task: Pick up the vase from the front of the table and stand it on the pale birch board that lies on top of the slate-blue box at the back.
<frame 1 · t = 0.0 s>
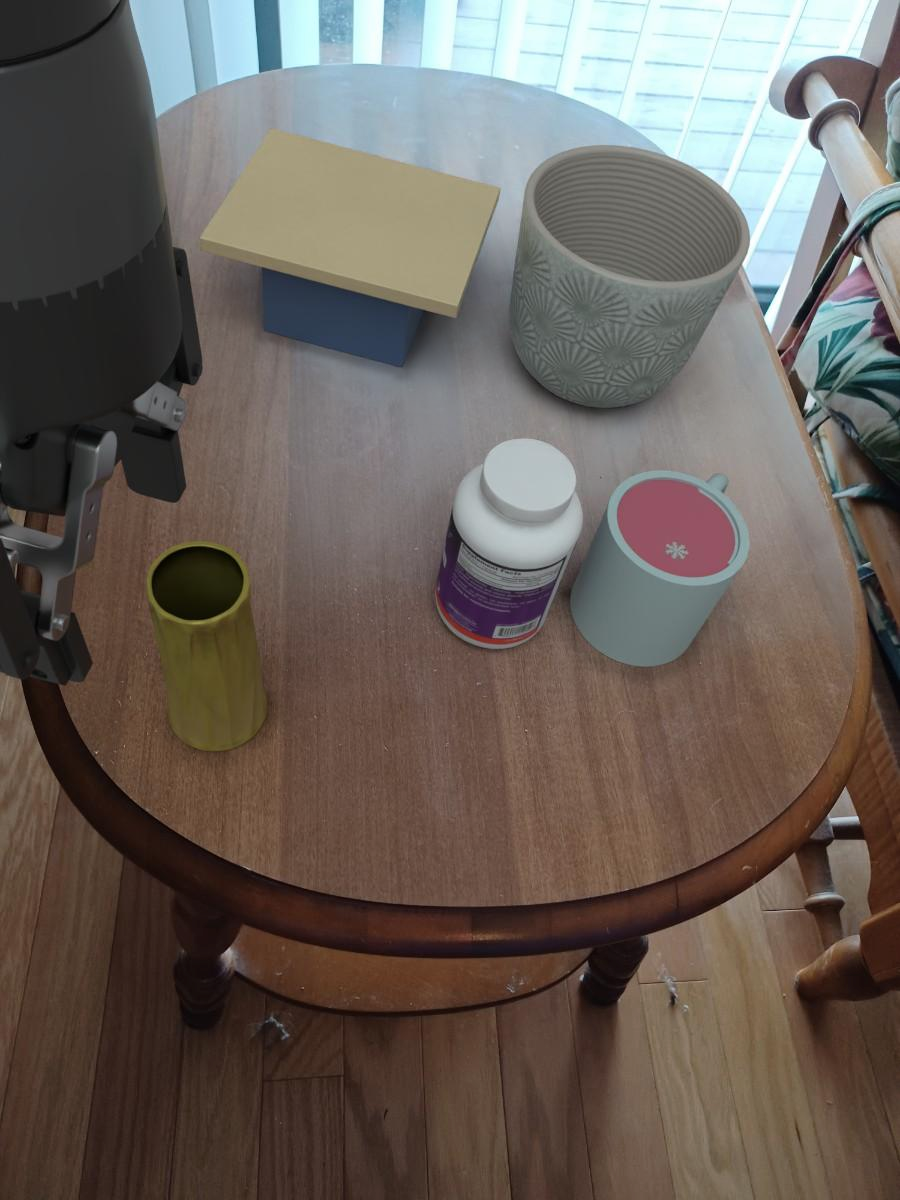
hand: (112, 575, 36), 24 cm above the table, tool pointing down, fingers open, 8 cm apart
planter: (586, 368, 82), on the table
box: (353, 304, 83), on the table
mug: (647, 593, 70), on the table
vase: (218, 709, 60), on the table
pill bottle: (489, 608, 67), on the table
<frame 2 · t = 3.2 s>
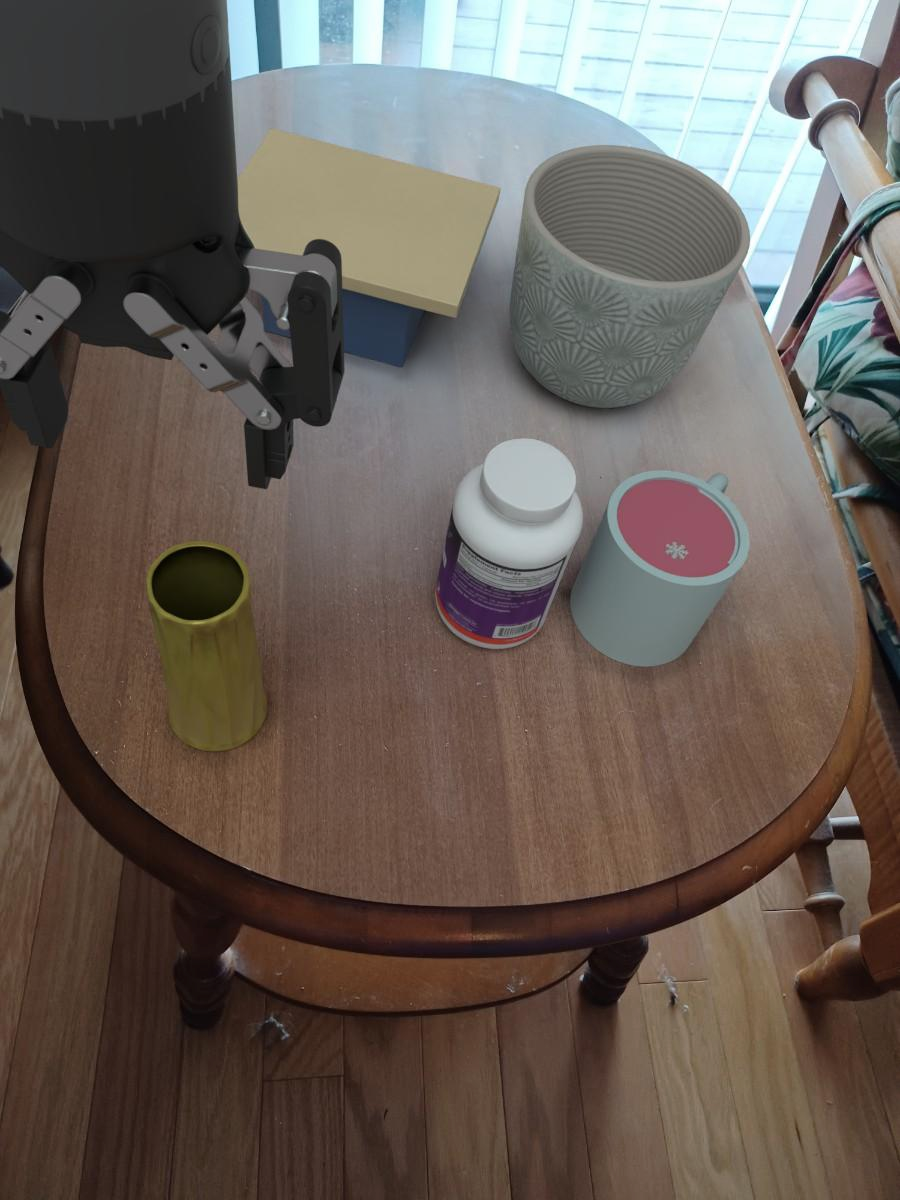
hand: (157, 452, 38), 26 cm above the table, tool pointing down, fingers open, 8 cm apart
nothing on the table moved.
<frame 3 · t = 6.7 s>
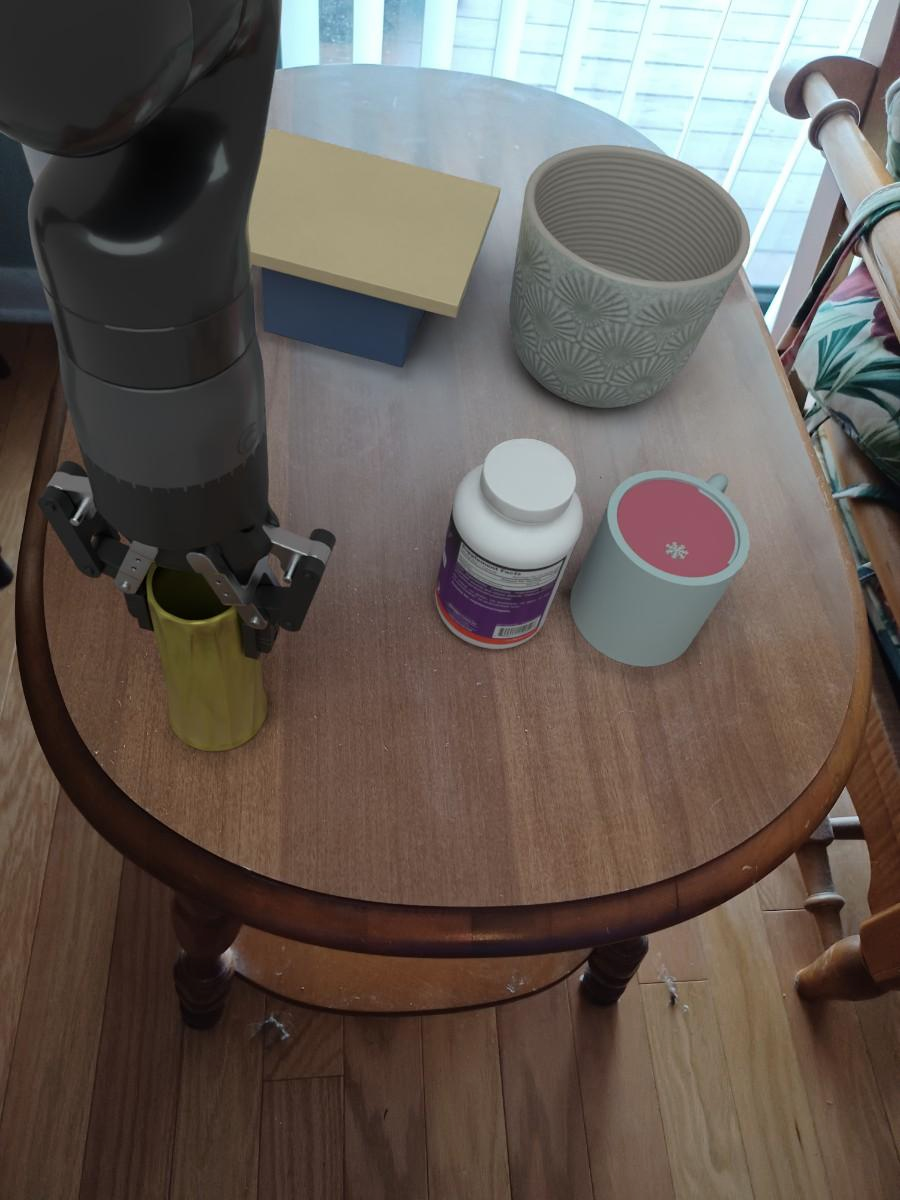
hand: (205, 630, 52), 9 cm above the table, tool pointing down, fingers closed on vase, 5 cm apart
vase: (218, 709, 60), on the table, touching gripper
everything else where it was.
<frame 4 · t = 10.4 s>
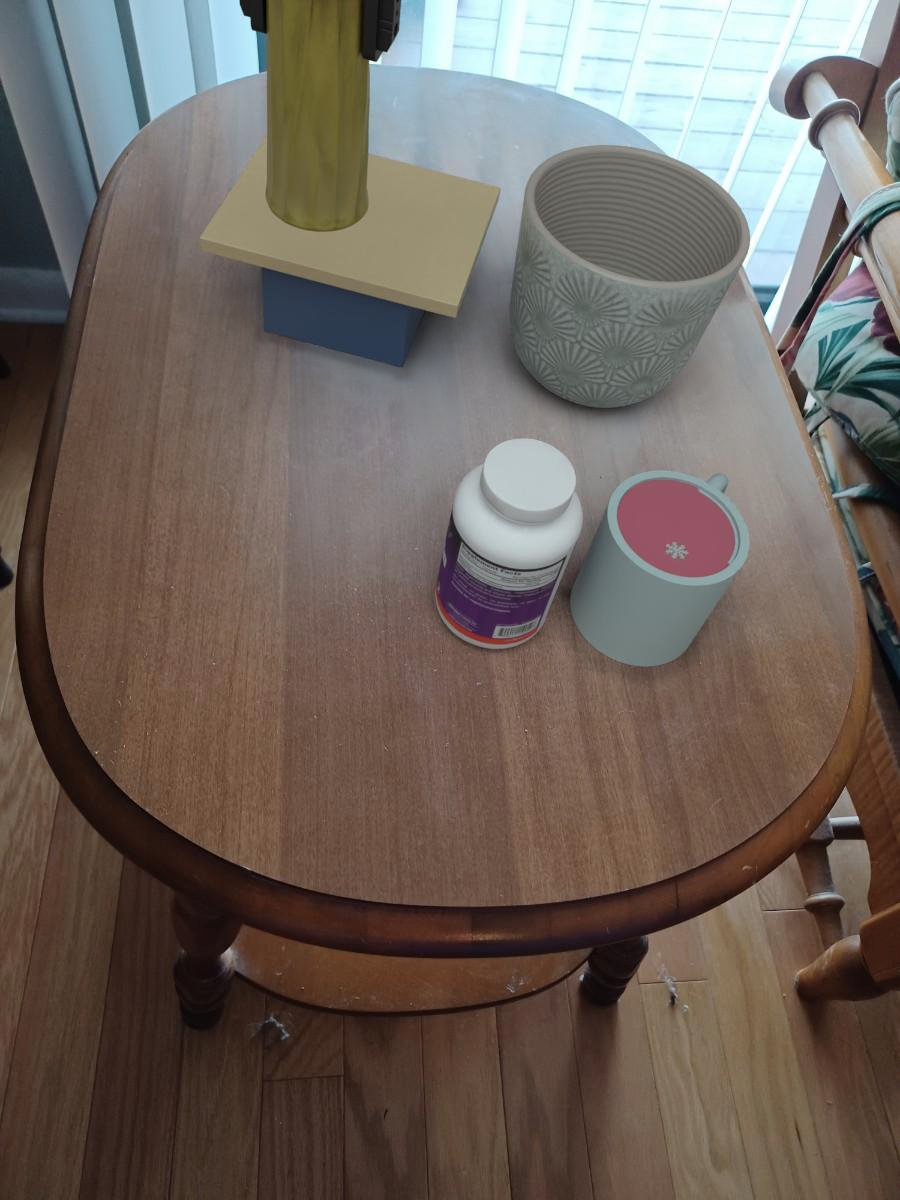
hand: (319, 38, 49), 30 cm above the table, tool pointing down, fingers closed on vase, 5 cm apart
vase: (317, 205, 57), point 20 cm above the table, touching gripper
everything else where it was.
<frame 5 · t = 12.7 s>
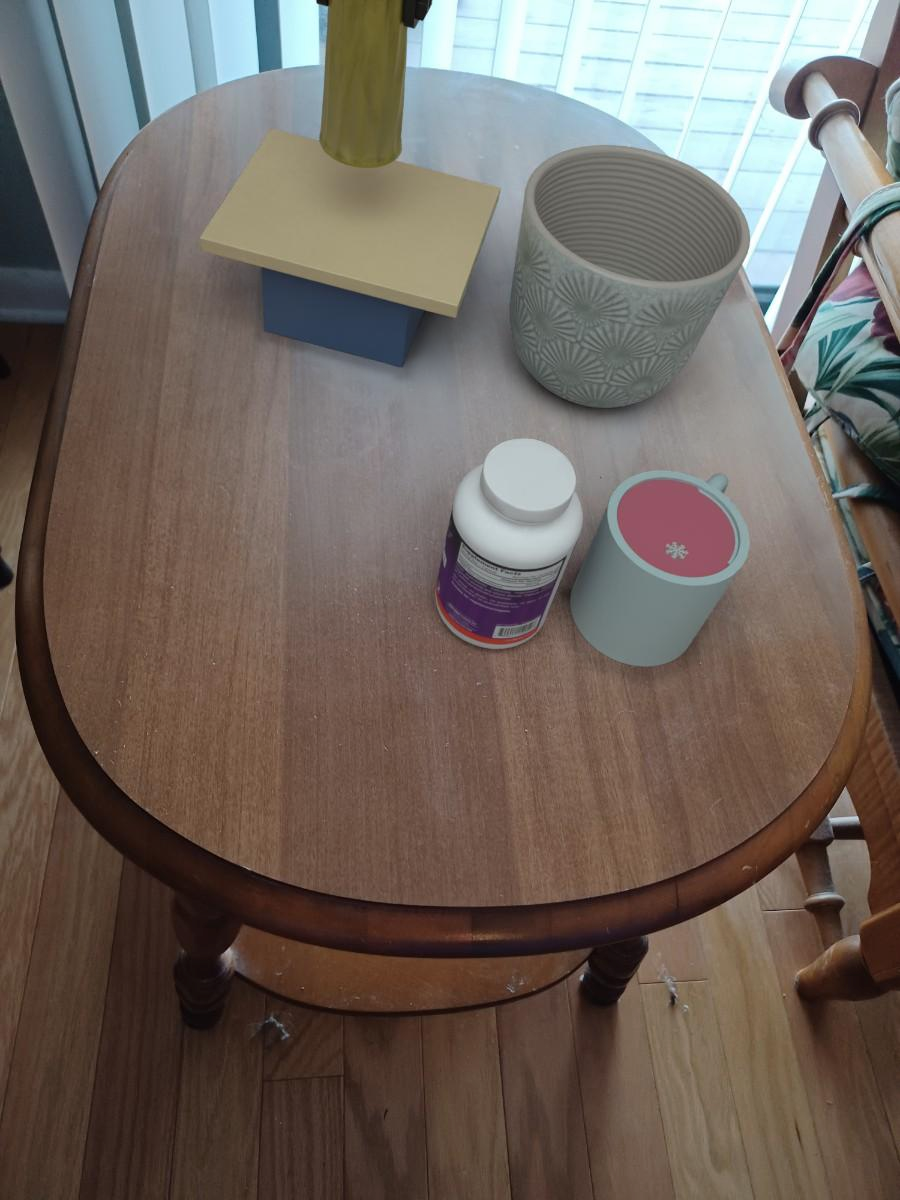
hand: (368, 10, 63), 24 cm above the table, tool pointing down, fingers closed on vase, 5 cm apart
vase: (360, 148, 71), point 15 cm above the table, touching gripper
everything else where it was.
when the fingers open (19 cm above the table, at t = 14.5 s): vase stays where it is, resting on box.
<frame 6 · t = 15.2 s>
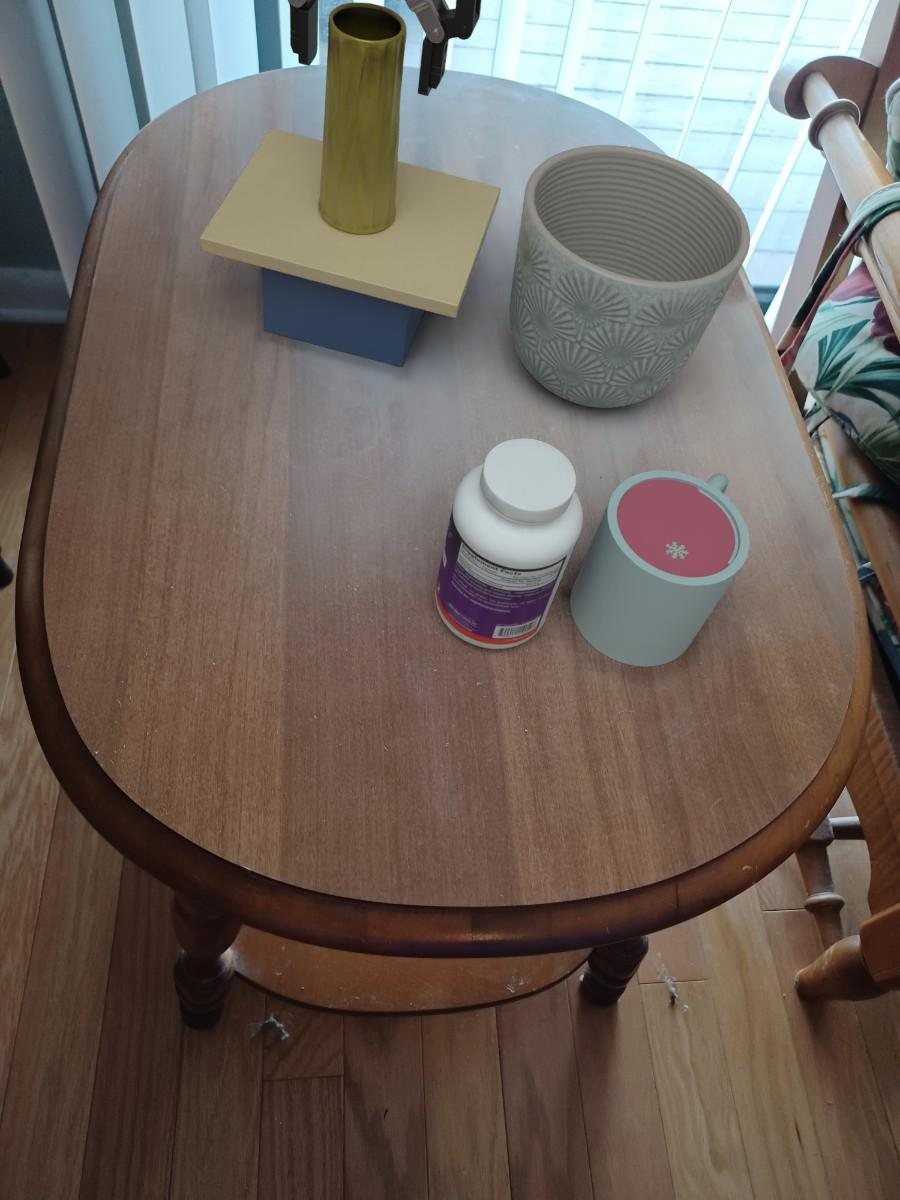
hand: (366, 74, 66), 20 cm above the table, tool pointing down, fingers open, 8 cm apart
vase: (356, 213, 75), point 9 cm above the table, touching box
everything else where it was.
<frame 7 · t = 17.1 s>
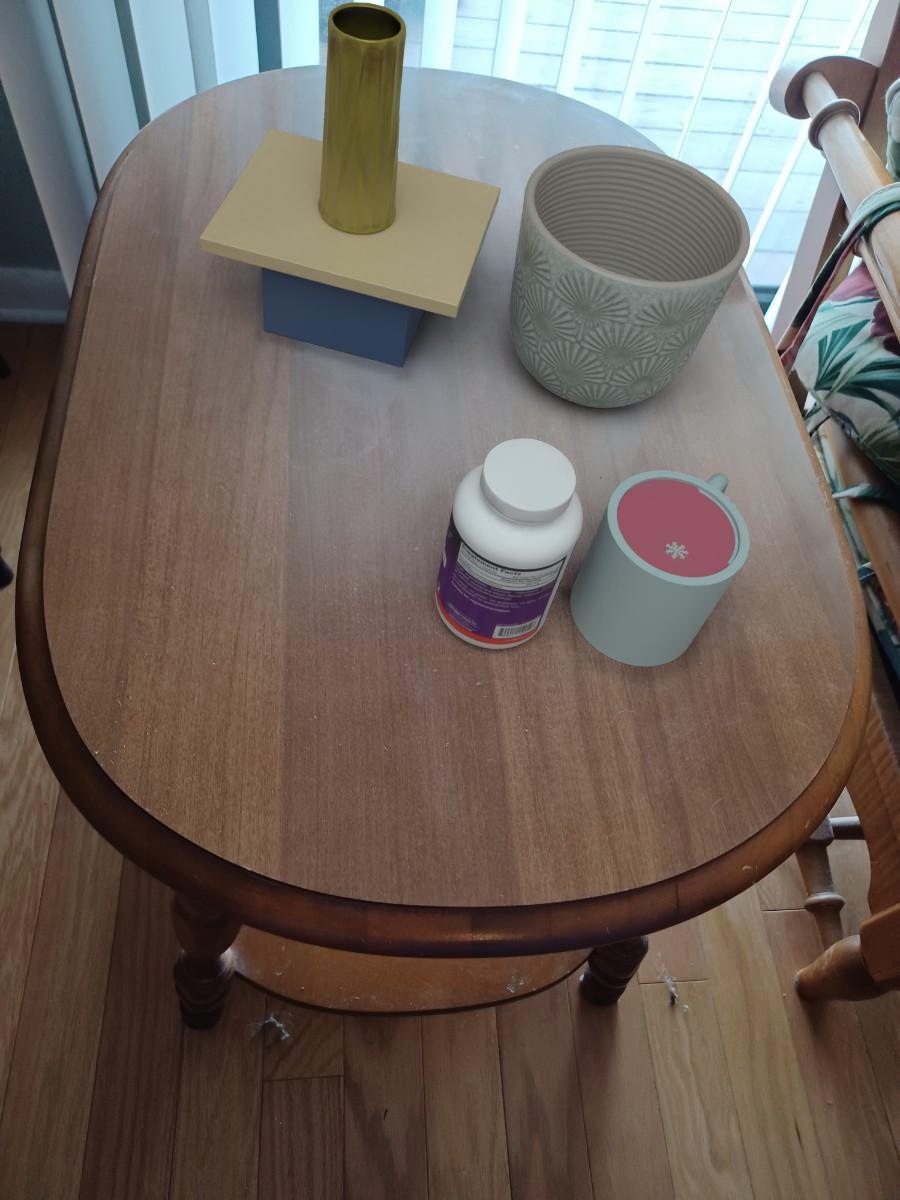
nothing on the table moved.
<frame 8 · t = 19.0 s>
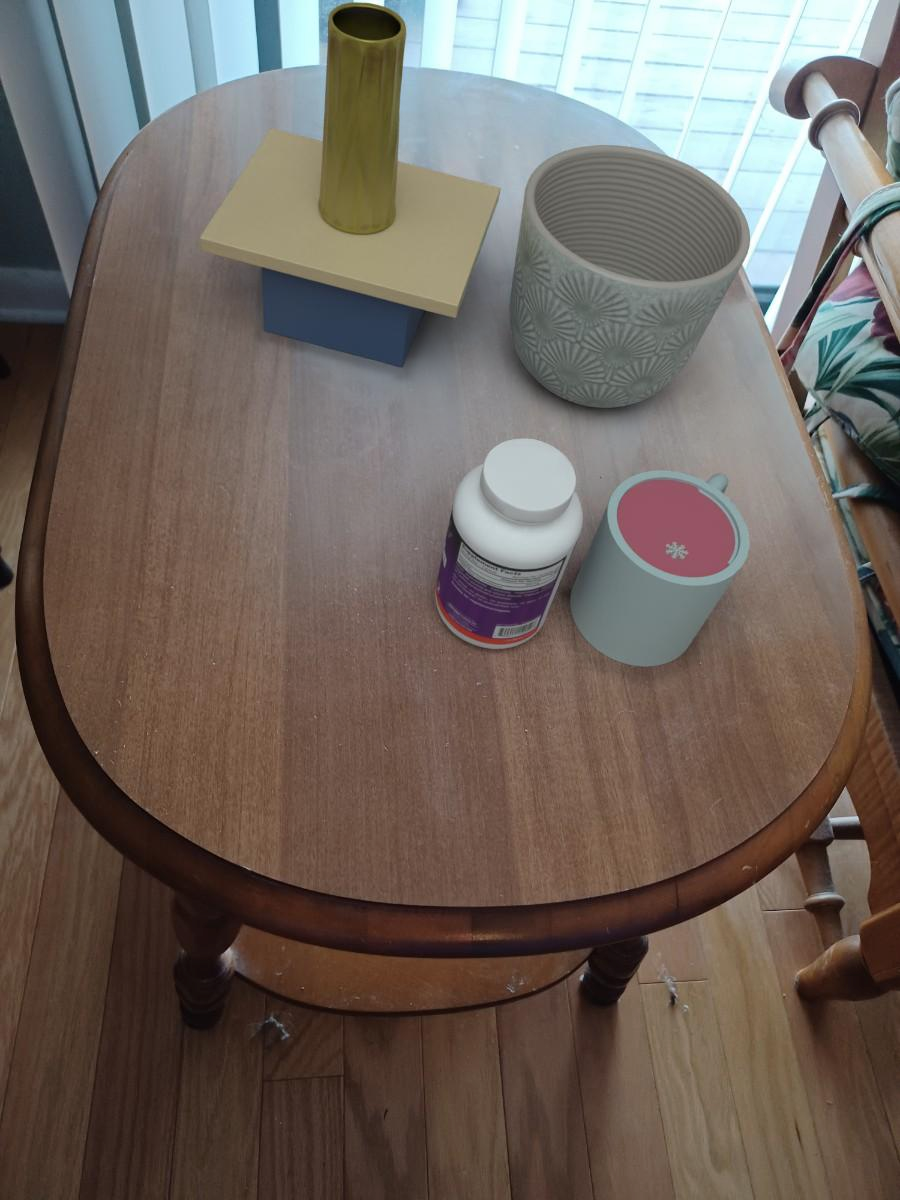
nothing on the table moved.
at the end: vase inside the target area on the box (0.1 cm from its centre), point 9.0 cm above the box's base; vase tilted 0°; the gripper is holding nothing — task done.
